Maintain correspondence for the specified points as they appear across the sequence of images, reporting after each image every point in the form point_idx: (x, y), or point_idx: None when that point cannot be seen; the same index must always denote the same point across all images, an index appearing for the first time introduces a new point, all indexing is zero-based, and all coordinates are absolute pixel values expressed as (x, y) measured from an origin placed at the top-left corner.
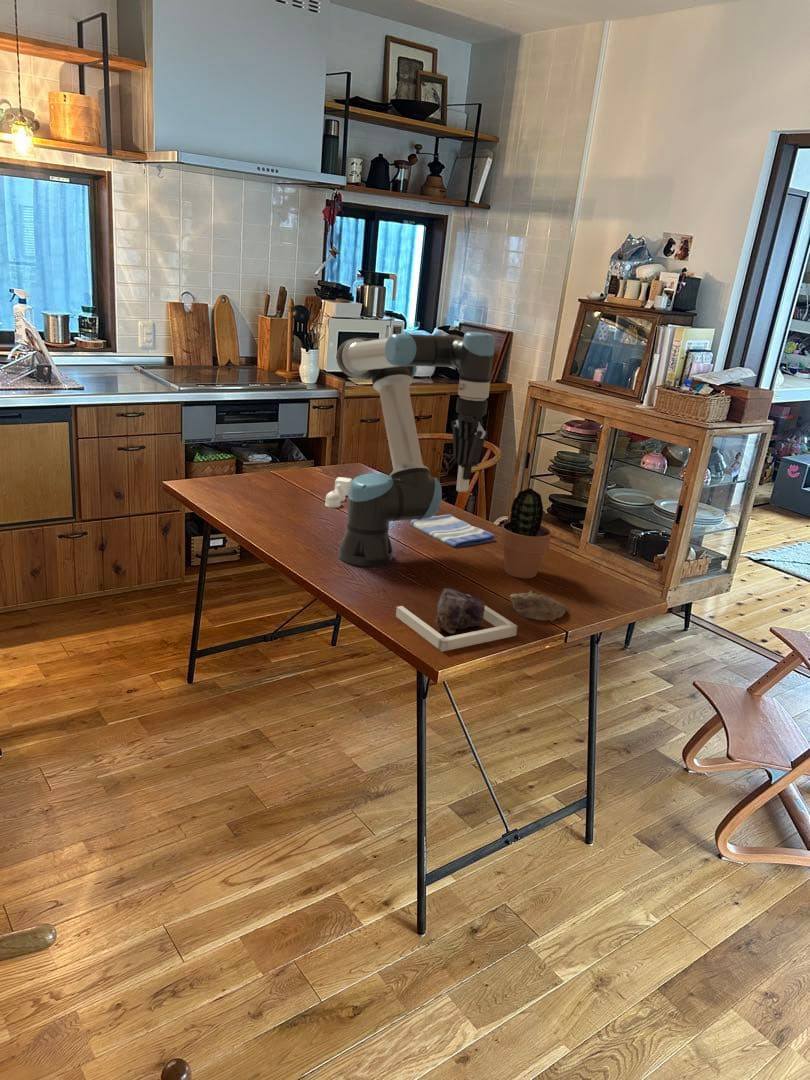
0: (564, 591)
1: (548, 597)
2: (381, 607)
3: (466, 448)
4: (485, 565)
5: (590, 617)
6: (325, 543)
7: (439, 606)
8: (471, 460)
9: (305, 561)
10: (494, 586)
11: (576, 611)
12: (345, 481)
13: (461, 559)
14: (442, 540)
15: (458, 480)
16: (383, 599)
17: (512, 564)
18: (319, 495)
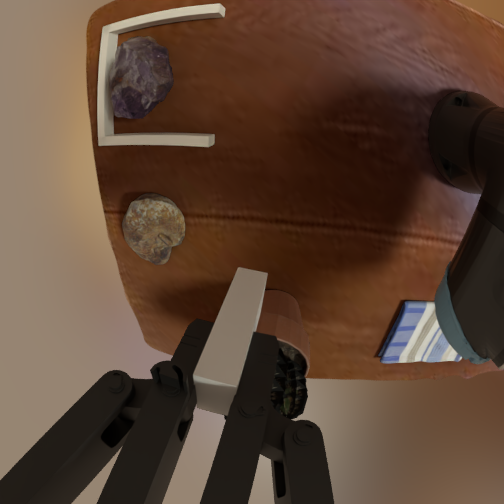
0: (197, 303)
1: (131, 239)
2: (267, 5)
3: (116, 493)
4: (326, 288)
5: (127, 266)
6: None
7: (134, 38)
8: (82, 400)
9: (489, 48)
10: (252, 237)
11: (143, 266)
12: None
13: (368, 276)
14: (430, 302)
15: (244, 307)
16: (296, 24)
17: (266, 299)
18: None
